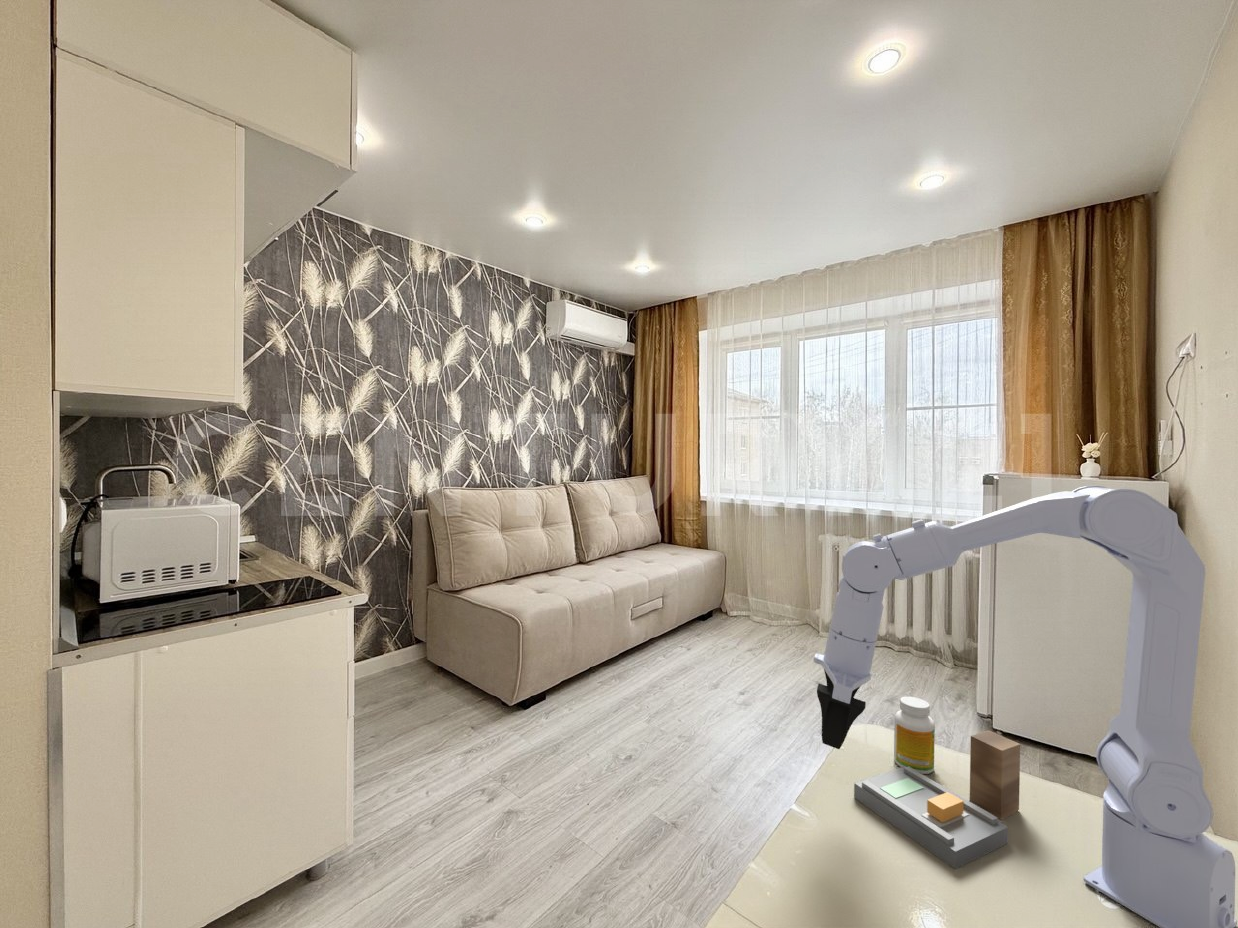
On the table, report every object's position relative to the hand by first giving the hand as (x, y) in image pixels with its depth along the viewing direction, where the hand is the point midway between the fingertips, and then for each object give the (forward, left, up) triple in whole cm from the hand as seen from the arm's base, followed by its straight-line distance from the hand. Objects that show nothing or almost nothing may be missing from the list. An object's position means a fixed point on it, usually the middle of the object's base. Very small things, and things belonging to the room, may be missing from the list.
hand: (833, 731), depth 70 cm
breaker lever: (-9, -10, -8) cm, 16 cm away
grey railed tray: (-6, -10, -11) cm, 16 cm away
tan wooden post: (-8, -21, -11) cm, 25 cm away
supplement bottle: (+3, -20, -11) cm, 23 cm away
